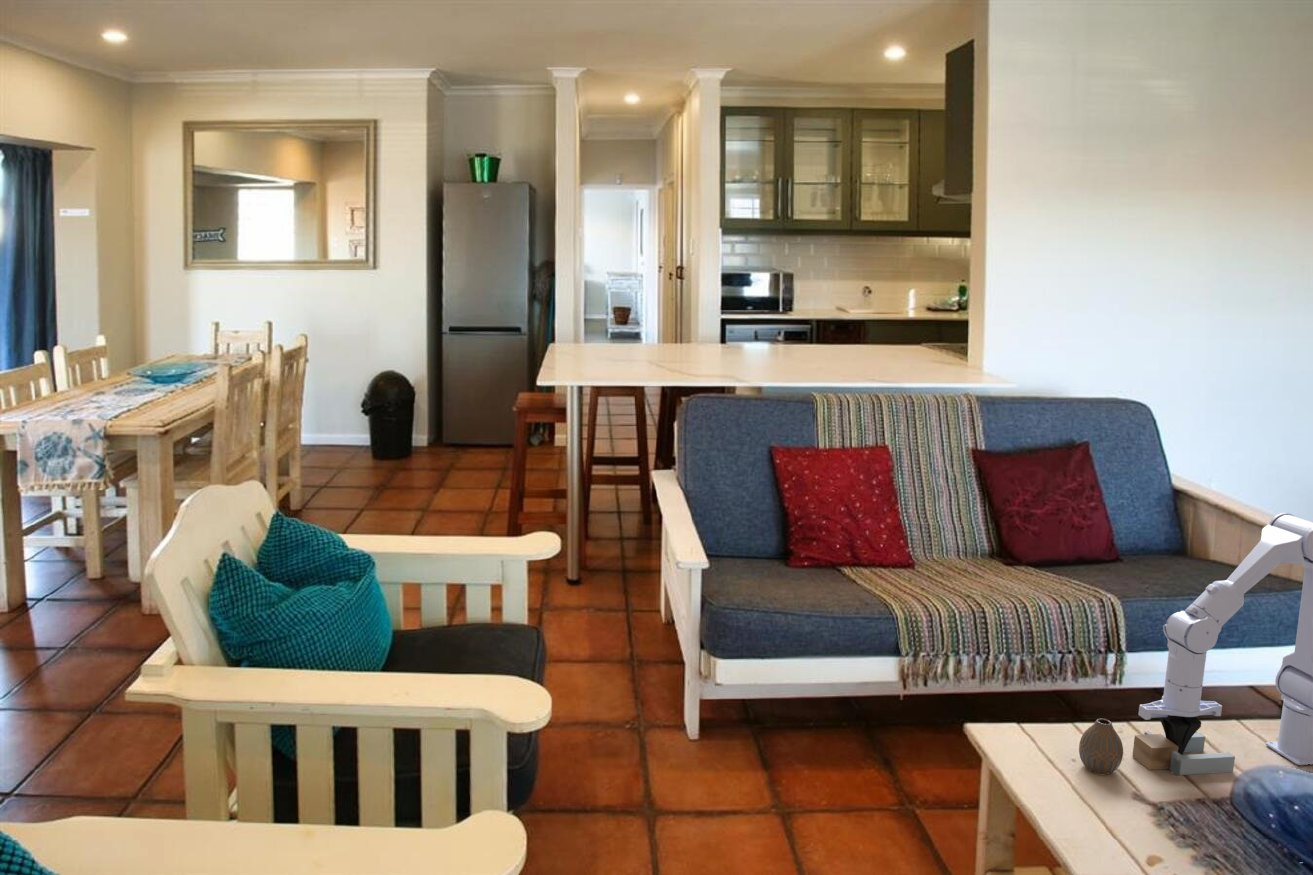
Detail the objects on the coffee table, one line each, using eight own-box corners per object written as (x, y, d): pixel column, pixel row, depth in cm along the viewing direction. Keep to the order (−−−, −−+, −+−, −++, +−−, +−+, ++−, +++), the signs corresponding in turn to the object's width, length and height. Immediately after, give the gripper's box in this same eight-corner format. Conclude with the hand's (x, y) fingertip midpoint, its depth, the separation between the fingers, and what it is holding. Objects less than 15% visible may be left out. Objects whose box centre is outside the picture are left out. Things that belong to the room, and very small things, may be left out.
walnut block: (1158, 755, 180) (1160, 733, 179) (1175, 768, 175) (1178, 746, 174) (1132, 756, 179) (1134, 735, 178) (1149, 769, 174) (1152, 748, 174)
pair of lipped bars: (1197, 747, 183) (1200, 728, 183) (1233, 771, 175) (1235, 752, 174) (1142, 750, 182) (1144, 731, 181) (1175, 775, 173) (1177, 755, 172)
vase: (1112, 761, 177) (1118, 714, 176) (1126, 780, 171) (1132, 732, 169) (1072, 758, 178) (1076, 711, 177) (1084, 777, 171) (1089, 729, 170)
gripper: (1205, 670, 180) (1196, 741, 183) (1131, 673, 178) (1123, 745, 180) (1234, 686, 173) (1224, 760, 176) (1157, 690, 171) (1148, 765, 173)
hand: (1174, 754), depth 178 cm, fingers closed
